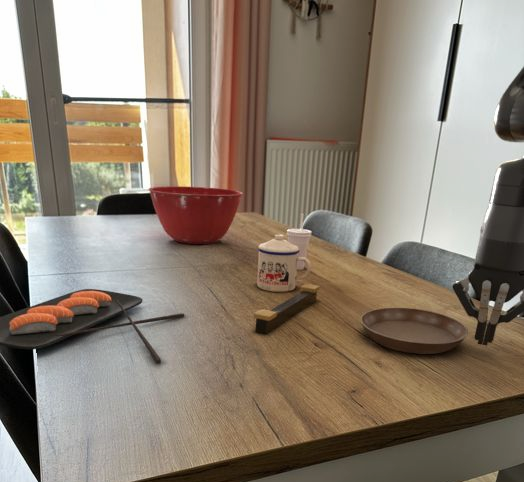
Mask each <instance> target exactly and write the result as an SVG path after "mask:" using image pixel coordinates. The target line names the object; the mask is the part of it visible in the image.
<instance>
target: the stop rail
mask: <svg viewBox="0 0 524 482" xmlns="http://www.w3.org/2000/svg"><path fill="white" fill-rule="evenodd" d="M320 289H321V288H320V285H317V284H310V283H305V284H302V286H300V292H298V293H297V294H295V295H294V296H292V297H290V298H289V299H286V300H285V301H284V302H282V303H280V304H278V305H277V306H274V307H273V308H272V309H270V310H269V309H263V308H261V309H259V310H257V311H256V312H254V313H253V318H254V319H255V333H257V334H263V335H266V334H269V333H270V332H271V331H273V330H274V329H276V328H277V327H279V326H280V325H283V324H284V323H285V322H286V321H288V320H289V319H291V318H293V317H294V316H295V315H297V314H298V313H300V312H302V311H303V310H305V309H306V308H308V307H309V306H310V305H312V304H313V303H315V302H316V301H317V294H318V291H320Z"/></svg>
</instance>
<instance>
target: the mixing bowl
mask: <svg viewBox="0 0 524 482" xmlns="http://www.w3.org/2000/svg"><path fill="white" fill-rule="evenodd" d="M147 190H148V191H149V194H150V198H151V201H152V205H153V208H154V210H155V214H156V216H157V218H158V220H159V222H160V225H161V226H162V227H161V228H162V229H163V230H164V232H165V233H166V234H167V236H168V237H170V238H172V239H173V240H174V241H175V242H177V243H182V244H192V245H193V244H194V245H207V244H213V243H217V242H218V241H219V240H221V239H223V237H224V236H225V235H227V233H228V232H229V229H230V228H231V225H232V223H233V222H234V219H235V217H236V215H237V211H238V209H239V205H240V202H241V198H242V195H243V192H242V191H239V190H235V189H229V188H228V189H227V188H218V187H204V186H175V185H173V186H172V185H171V186H169V185H168V186H153V187H149V188H148V189H147Z"/></svg>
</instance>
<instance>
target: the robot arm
mask: <svg viewBox="0 0 524 482" xmlns="http://www.w3.org/2000/svg"><path fill="white" fill-rule="evenodd" d="M493 129H494V132H495V134H496V136H497V137H498V138H499V139H500V140H502V141H504V142H508V143H520V144H522V143H523V144H524V66H522V67H521V69H520V71H519V72H518V73H517V74H516V76H515V77H514V78H513V80H512V81H511V82H510V84H509V85H508V86H507V87H506V89H505V91H504V92H503V93H502V95H501V96H500V99H499V100H498V103H497V105H496V108H495V111H494V117H493ZM488 201H489V202H488V204H487V208H486V211H485V214H484V216H483V221H482V225H481V227H480V235H479V240H478V245H477V249H476V254H475V257H474V263H473V267H472V268H471V270H469V272H468V274H467V276H466V277H464V278H462V279H459V280H458V279H457V280H455V281H454V283H453V285H452V290H453V292H454V294H455V295H456V297H457V299H458V300H459V302H460V304H461V307H462V308H463V309H464V311H465V313H466V314H467V316H468V317H470V318H471V317H472V318H474V319H476V322H477V323H476V328H475V332H474V340H475V341H477V345H481V346H486V347H487V346H488V343H489V344H492V343H493V342H494V339H495V335H496V331H497V327H498V325H499V324H502V323H506V324H508V323H511V321H513V320H514V319H516V318H517V317H519V316H520V315H521V314H522V313H524V155H522V157H520V158H518V159H514V160H513V159H512V160H508V161H504V162H502V163H500V164H499V165H498V166H497V168H496V170H495V174H494V177H493V182H492V188H491V192H490V196H489V199H488ZM470 285H471V288H472V289H473V291H474V294H475V295H476V297H477V298H478V299H480V300H479V308H478V307H476V305H475V302H474V301H473V299H472V297H471V296H470V293H468V292H469V290H470ZM521 292H522V293H521ZM520 293H521V294H520ZM519 294H520V295H519ZM518 295H519V301H518V302H516V303H515V304H514V305H513V306H511V307H510V308H509V309H506V311H504V312H502V310H503V307H504V304H505V303H508V302H510V301H511V300H513V299H514V298H515V297H516V296H518ZM490 302H494V304H493V307H492V310H491V312H490V313H491V314H490V316H488V313H489V306H490ZM488 317H489V320H488Z"/></svg>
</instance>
